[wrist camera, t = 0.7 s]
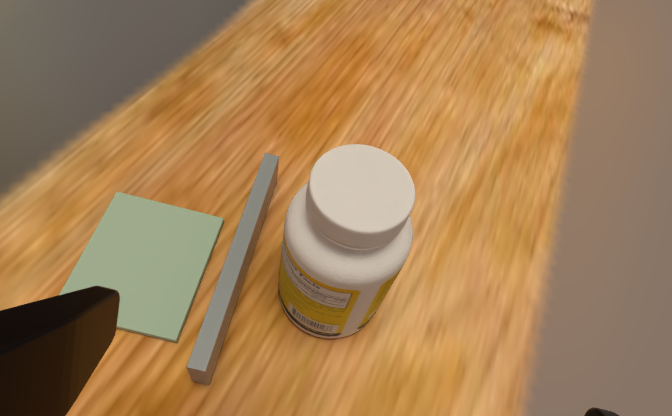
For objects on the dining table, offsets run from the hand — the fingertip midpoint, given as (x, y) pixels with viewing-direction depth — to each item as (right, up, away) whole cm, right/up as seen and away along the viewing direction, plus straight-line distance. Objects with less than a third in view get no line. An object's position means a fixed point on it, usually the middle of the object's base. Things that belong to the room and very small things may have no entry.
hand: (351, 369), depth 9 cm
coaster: (-10, 0, +16) cm, 19 cm away
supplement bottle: (-1, -1, +17) cm, 17 cm away
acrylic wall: (-5, 0, +17) cm, 17 cm away
